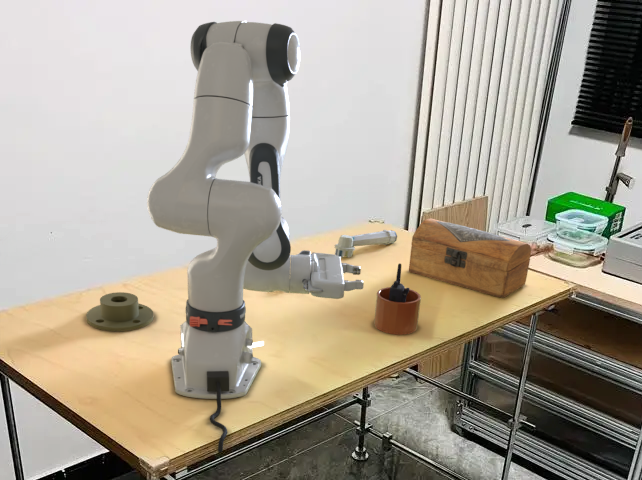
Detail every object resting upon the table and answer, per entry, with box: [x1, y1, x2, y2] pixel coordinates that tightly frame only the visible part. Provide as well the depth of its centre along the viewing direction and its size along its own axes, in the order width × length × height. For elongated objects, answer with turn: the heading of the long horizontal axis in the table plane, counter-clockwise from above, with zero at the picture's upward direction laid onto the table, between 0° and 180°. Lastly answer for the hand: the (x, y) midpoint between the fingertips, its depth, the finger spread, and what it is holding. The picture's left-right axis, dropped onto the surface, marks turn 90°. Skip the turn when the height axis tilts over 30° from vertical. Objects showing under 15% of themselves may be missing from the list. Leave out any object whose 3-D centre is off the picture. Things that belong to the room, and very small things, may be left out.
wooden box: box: [408, 217, 532, 299], centre depth 224 cm, size 30×16×14 cm, turn 55°
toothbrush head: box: [334, 229, 398, 259], centre depth 242 cm, size 5×7×25 cm
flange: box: [86, 291, 154, 332], centre depth 186 cm, size 5×15×15 cm
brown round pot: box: [373, 286, 422, 336], centre depth 193 cm, size 10×10×8 cm
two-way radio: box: [389, 263, 410, 303], centre depth 191 cm, size 6×4×15 cm
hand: (361, 277), depth 188 cm, fingers open, 8 cm apart
